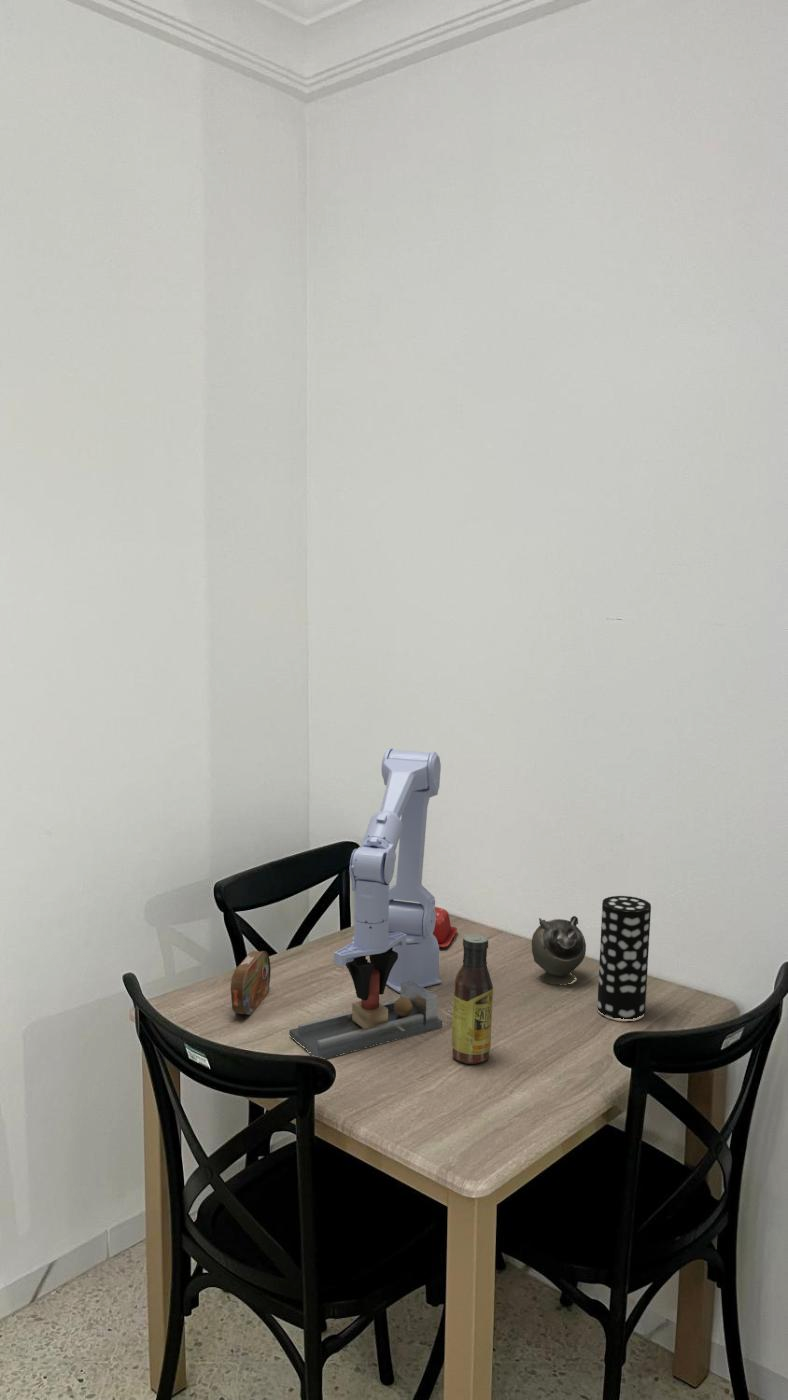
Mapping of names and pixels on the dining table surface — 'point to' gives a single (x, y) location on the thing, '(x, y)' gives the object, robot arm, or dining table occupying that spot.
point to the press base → (349, 1036)
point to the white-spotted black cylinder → (623, 957)
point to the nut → (403, 1006)
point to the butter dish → (443, 928)
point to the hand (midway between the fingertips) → (370, 995)
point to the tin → (250, 982)
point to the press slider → (370, 1005)
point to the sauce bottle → (472, 1003)
